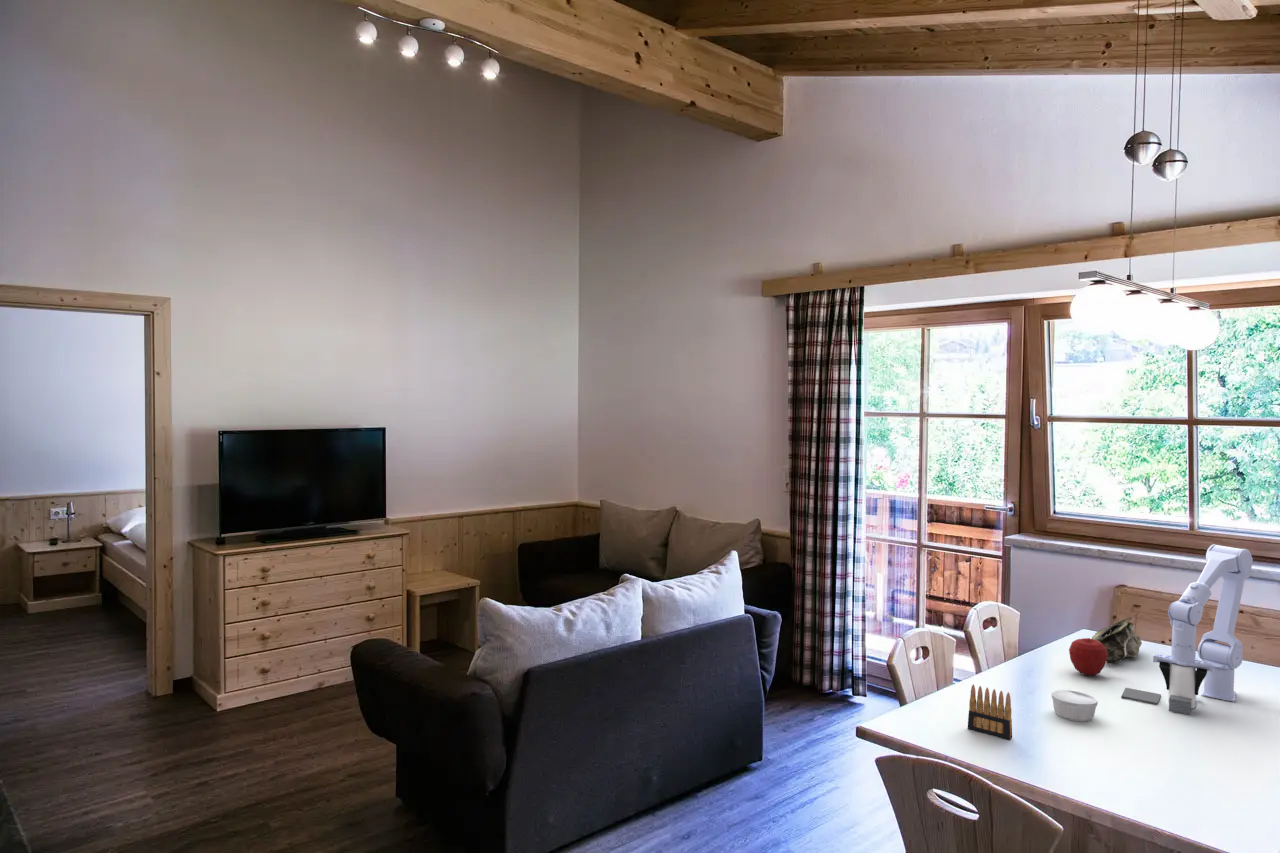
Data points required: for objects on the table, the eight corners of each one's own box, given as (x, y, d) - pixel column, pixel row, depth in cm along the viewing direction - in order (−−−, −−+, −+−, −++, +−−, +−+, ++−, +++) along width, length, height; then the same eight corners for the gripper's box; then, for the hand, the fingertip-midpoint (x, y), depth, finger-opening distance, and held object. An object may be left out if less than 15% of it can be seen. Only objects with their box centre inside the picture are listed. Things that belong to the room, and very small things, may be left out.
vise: (1174, 693, 247) (1174, 682, 247) (1194, 697, 244) (1195, 685, 244) (1168, 710, 233) (1169, 698, 233) (1190, 715, 230) (1190, 702, 230)
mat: (1125, 689, 250) (1125, 687, 250) (1160, 696, 245) (1160, 694, 245) (1121, 697, 243) (1121, 695, 243) (1157, 705, 237) (1157, 702, 237)
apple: (1071, 666, 271) (1072, 631, 271) (1109, 673, 265) (1110, 636, 265) (1065, 675, 262) (1066, 638, 262) (1104, 682, 256) (1105, 644, 256)
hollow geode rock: (1105, 681, 271) (1143, 655, 264) (1075, 648, 277) (1111, 622, 269) (1128, 659, 292) (1163, 635, 284) (1100, 629, 297) (1133, 604, 290)
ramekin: (1102, 715, 229) (1102, 696, 229) (1090, 727, 221) (1091, 707, 221) (1058, 705, 237) (1058, 686, 237) (1045, 715, 229) (1046, 696, 229)
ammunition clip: (1012, 738, 213) (1013, 692, 213) (1010, 740, 212) (1011, 694, 211) (969, 727, 220) (970, 682, 220) (967, 729, 219) (968, 684, 218)
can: (1199, 710, 234) (1200, 667, 233) (1174, 708, 235) (1175, 666, 235) (1189, 701, 240) (1190, 660, 240) (1164, 700, 241) (1165, 659, 241)
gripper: (1152, 642, 238) (1151, 689, 239) (1213, 652, 229) (1212, 701, 230) (1155, 637, 244) (1153, 683, 244) (1215, 646, 235) (1213, 694, 236)
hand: (1182, 691), depth 237 cm, fingers open, 6 cm apart
